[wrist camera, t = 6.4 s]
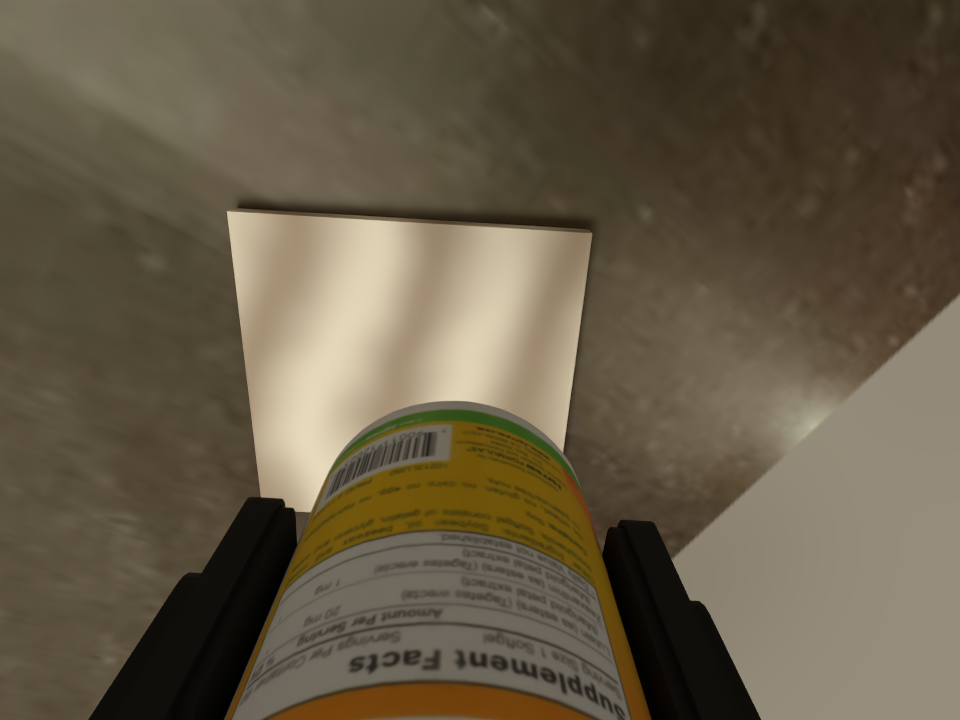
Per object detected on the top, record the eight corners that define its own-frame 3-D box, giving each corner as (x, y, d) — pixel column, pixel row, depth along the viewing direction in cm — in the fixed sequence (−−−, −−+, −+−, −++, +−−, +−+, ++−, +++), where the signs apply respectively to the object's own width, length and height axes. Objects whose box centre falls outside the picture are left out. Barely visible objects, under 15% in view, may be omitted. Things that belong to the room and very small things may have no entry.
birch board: (588, 229, 25) (592, 233, 24) (551, 514, 31) (553, 526, 31) (236, 208, 25) (226, 211, 24) (269, 498, 31) (262, 509, 30)
